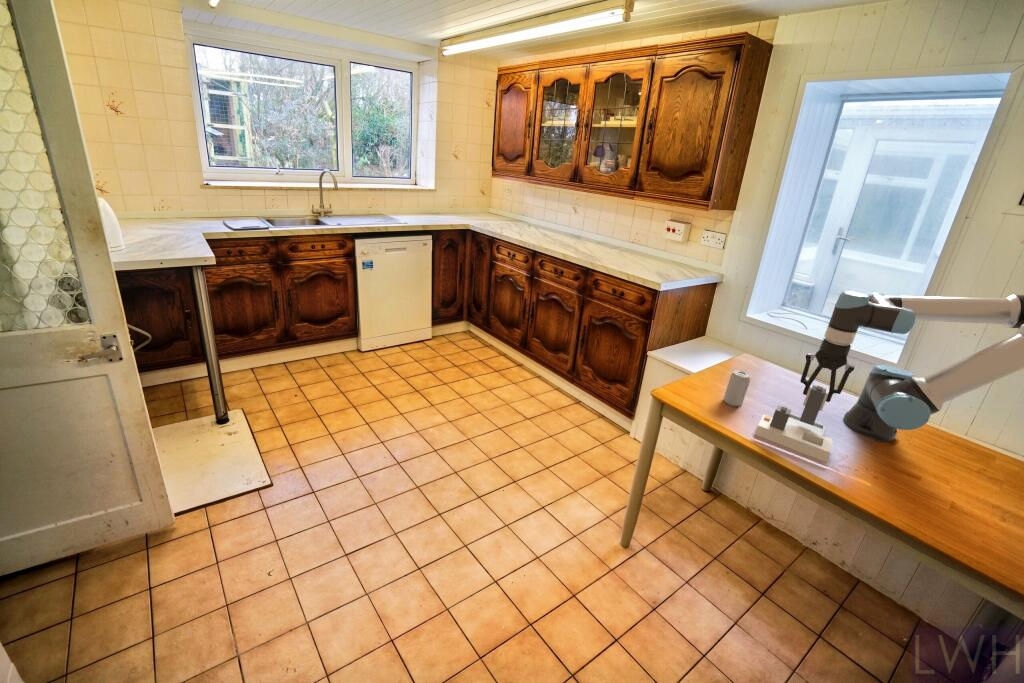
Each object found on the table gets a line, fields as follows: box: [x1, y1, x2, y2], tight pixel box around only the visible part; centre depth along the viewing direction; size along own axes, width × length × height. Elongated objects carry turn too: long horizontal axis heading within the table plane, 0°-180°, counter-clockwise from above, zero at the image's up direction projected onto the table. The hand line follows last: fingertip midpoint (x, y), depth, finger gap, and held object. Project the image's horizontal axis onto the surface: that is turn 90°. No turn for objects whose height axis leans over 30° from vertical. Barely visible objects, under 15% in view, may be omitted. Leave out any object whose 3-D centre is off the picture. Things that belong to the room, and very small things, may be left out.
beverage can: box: [723, 369, 751, 408], centre depth 169 cm, size 6×6×12 cm
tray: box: [787, 412, 826, 436], centre depth 160 cm, size 12×10×2 cm
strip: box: [754, 405, 833, 463], centre depth 148 cm, size 20×9×11 cm, turn 53°
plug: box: [800, 384, 828, 426], centre depth 156 cm, size 4×4×13 cm
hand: (812, 406), depth 156 cm, fingers closed on plug, 4 cm apart
